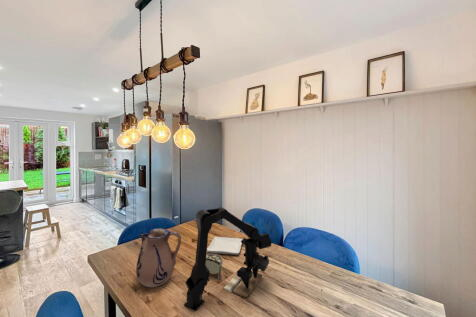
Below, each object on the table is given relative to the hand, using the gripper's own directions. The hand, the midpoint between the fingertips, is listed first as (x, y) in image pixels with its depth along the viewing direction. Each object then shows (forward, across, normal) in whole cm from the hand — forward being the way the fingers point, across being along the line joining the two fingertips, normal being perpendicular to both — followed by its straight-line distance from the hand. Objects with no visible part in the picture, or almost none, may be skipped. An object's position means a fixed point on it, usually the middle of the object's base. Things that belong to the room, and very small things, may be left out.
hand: (251, 282), depth 105 cm
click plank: (+1, 0, +1) cm, 2 cm away
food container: (+1, -1, +21) cm, 21 cm away
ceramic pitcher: (+1, -19, +42) cm, 46 cm away
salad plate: (+2, +28, +32) cm, 43 cm away
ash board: (+2, 0, +8) cm, 8 cm away
